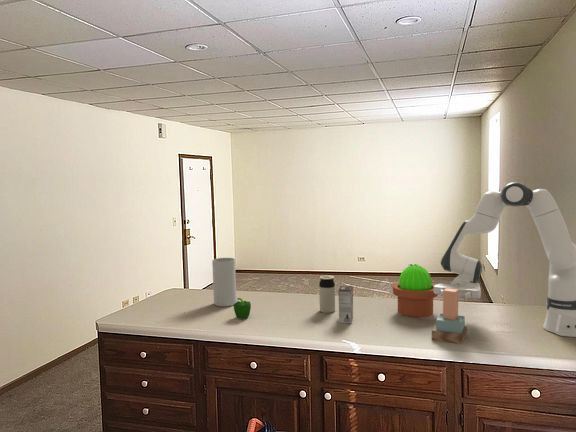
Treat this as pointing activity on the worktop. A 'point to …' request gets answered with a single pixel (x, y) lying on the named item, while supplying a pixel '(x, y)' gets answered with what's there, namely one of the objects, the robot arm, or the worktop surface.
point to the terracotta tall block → (450, 304)
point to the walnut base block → (449, 336)
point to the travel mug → (327, 294)
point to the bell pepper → (242, 309)
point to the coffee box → (345, 304)
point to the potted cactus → (415, 292)
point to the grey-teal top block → (450, 324)
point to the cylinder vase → (224, 281)
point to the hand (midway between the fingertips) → (453, 294)
